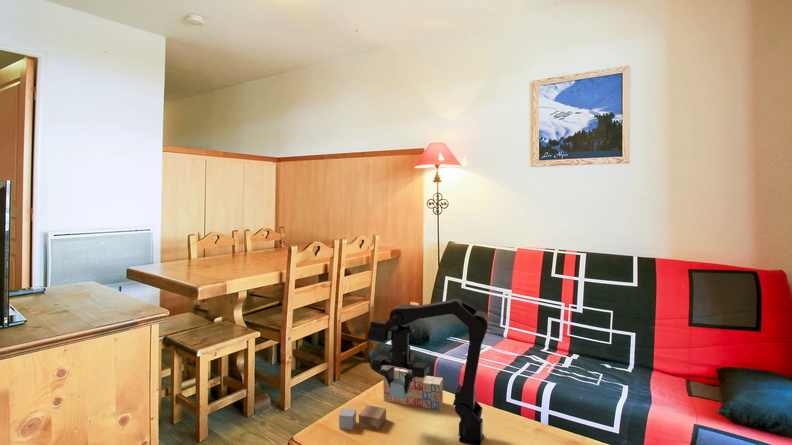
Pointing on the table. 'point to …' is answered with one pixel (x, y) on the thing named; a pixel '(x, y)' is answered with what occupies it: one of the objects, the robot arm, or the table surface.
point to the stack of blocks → (418, 391)
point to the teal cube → (398, 388)
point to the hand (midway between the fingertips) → (399, 391)
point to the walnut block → (372, 417)
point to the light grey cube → (347, 419)
